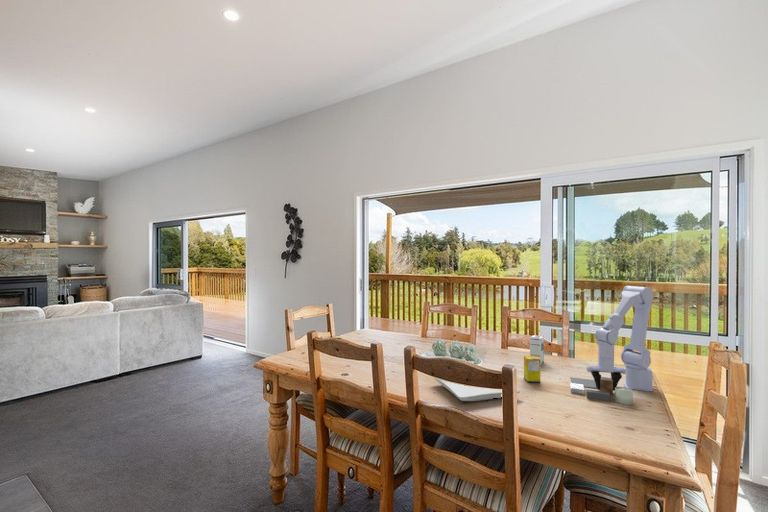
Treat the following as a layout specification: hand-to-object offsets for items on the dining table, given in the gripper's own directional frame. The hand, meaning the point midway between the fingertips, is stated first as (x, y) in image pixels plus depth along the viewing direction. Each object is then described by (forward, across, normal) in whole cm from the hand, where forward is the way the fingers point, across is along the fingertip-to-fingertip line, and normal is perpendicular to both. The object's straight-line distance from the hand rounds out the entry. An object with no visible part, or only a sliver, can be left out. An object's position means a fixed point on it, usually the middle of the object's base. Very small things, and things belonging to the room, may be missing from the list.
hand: (605, 389), depth 157 cm
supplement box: (+2, +27, -10) cm, 29 cm away
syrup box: (+2, +19, -39) cm, 43 cm away
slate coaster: (+1, +5, -10) cm, 11 cm away
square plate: (+2, +55, +6) cm, 55 cm away
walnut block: (+2, 0, 0) cm, 2 cm away
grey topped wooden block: (+2, +11, 0) cm, 11 cm away
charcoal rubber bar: (+2, +6, +7) cm, 10 cm away
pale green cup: (+2, -3, +9) cm, 10 cm away
